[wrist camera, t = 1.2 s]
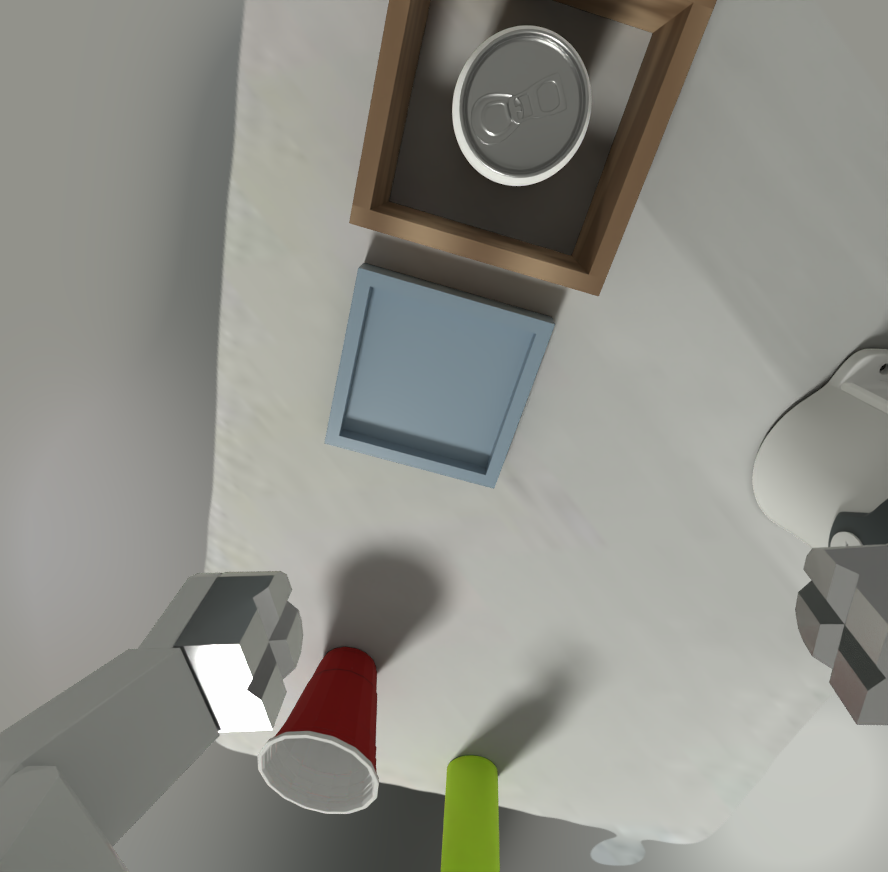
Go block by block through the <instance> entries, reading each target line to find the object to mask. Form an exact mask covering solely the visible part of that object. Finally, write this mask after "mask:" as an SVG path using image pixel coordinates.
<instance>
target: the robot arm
mask: <svg viewBox="0 0 888 872" xmlns="http://www.w3.org/2000/svg"><path fill="white" fill-rule="evenodd" d="M884 364H886V367H885V368H884V369H883V370H882V371H880V368H881V367H882V366H883V365H884ZM752 482H753V491H754V495H755V498H756V501H757V503H758V505H759V507H760V508H761V510H762V511H763V512H764V514H765V515H766V516H767V517H768V518H769V519H770V520H771V521H772V522H774V523H775V524H776V525H778V526H779V527H781V528H783V529H784V530H786V531H788V532H789V533H791V534H792V535H794V536H795V537H797V538H798V539H800V540H801V541H803V542H804V543H805V544H806V545H808V546H809V547H810V548H812V549H811V551H810V552H809V553H808V555H807V556H806V560H805V565H804V569H803V570H804V571H805V572H806V574H807V575H808V576H809V578H810V579H811V581H810V582H809V583H808V584H807V585H806V586H805V587H804V588H802V589H801V590H800V591H799V592H798V596H797V602H796V608H795V612H796V619H797V625H798V629H799V632H800V634H801V637H802V639H803V642H804V644H805V645H806V647H807V648H808V650H809V652H810V653H811V655H812V656H813V657H814V658H816V659H817V660H819V661H820V662H822V663H824V664H825V665H827V666H828V667H830V668H831V669H832V673H831V677H830V681H829V683H830V684H831V686H832V687H833V689H834V690H835V692H836V694H837V695H838V697H839V698H840V700H841V701H842V703H843V704H844V706H845V707H846V709H847V710H848V712H849V713H850V715H851V716H852V718H853V720H854V721H855V722H856V724H857V725H888V349H863V350H860V351H858V352H856V353H854V354H853V355H852V356H851V357H849V358H848V359H847V360H846V361H845V362H844V364H843V365H842V366H841V367H840V368H839V369H838V371H837V372H836V373H835V374H834V376H833V377H832V378H831V379H830V381H829V382H828V383H827V384H826V385H825V386H824V387H822V388H821V389H820V390H818V391H817V392H816V393H814V394H813V395H811V396H810V397H808V398H807V399H805V400H804V401H802V402H800V403H799V404H798V405H796V406H795V407H794V408H793V409H791V410H790V411H789V412H788V413H787V414H786V415H785V416H783V417H782V418H781V420H780V421H779V422H778V423H777V424H776V425H775V426H774V427H773V429H772V430H771V431H770V433H769V434H768V435H767V437H766V438H765V440H764V442H763V444H762V445H761V447H760V449H759V452H758V454H757V457H756V460H755V463H754V468H753V478H752ZM291 591H292V588H291V585H290V582H289V579H288V577H287V574H285V573H283V572H281V571H258V572H225V573H197V574H195V575H193V576H191V577H189V578H188V579H187V581H186V582H185V583H184V585H183V586H182V588H181V589H180V590H179V592H178V593H177V595H176V596H175V597H174V599H173V600H172V602H171V603H170V604H169V606H168V607H167V609H166V610H165V611H164V613H163V614H162V616H161V617H160V618H159V620H158V621H157V623H156V624H155V625H154V627H153V628H152V630H151V631H150V632H149V634H148V635H147V637H146V638H145V639H144V641H143V642H142V644H141V645H140V646H139V648H138V649H128V650H126V651H125V652H124V653H122V654H120V655H119V656H117V657H116V658H114V659H113V660H111V661H110V662H108V663H107V664H105V665H104V666H102V667H100V668H99V669H97V670H96V671H94V672H93V673H91V674H90V675H88V676H87V677H85V678H84V679H82V680H81V681H79V682H78V683H76V684H74V685H73V686H72V687H70V688H68V689H67V690H65V691H64V692H62V693H61V694H59V695H58V696H56V697H55V698H53V699H52V700H50V701H48V702H47V703H45V704H44V705H43V706H41V707H39V708H38V709H36V710H35V711H33V712H32V713H30V714H29V715H27V716H26V717H24V718H22V719H21V720H20V721H18V722H16V723H15V724H14V725H12V726H10V727H9V728H7V729H6V730H4V731H3V732H1V733H0V872H129V870H128V869H127V868H126V866H125V865H124V863H123V862H122V860H121V859H120V858H119V856H118V855H117V853H116V852H115V850H114V849H113V846H114V845H115V844H116V842H117V841H118V840H119V839H120V838H121V837H122V836H123V835H124V834H125V833H126V832H127V831H128V830H129V829H130V828H131V827H132V826H133V825H134V824H135V823H136V822H137V821H138V820H139V818H141V817H142V815H143V814H144V813H145V812H146V811H147V810H148V809H149V808H150V807H151V806H152V805H153V804H154V803H155V802H156V801H157V800H158V799H159V798H160V797H161V796H162V795H163V794H164V793H165V792H166V791H167V789H168V788H169V787H170V786H171V785H172V784H173V783H174V782H175V781H176V780H177V779H178V778H179V777H180V776H181V775H182V774H183V773H184V772H185V771H186V770H187V769H188V768H189V767H190V766H191V765H192V763H193V762H194V761H195V760H196V759H197V758H198V757H199V756H200V755H201V754H202V753H203V752H204V751H205V750H206V749H207V748H208V747H209V746H210V745H211V743H213V742H214V741H215V740H216V739H217V738H218V737H219V732H234V731H259V730H272V729H273V727H274V724H275V721H276V719H277V716H278V713H279V711H280V708H281V706H282V703H283V700H284V698H285V695H286V692H287V691H286V689H285V686H284V683H283V679H284V678H285V677H286V676H287V675H288V674H289V673H291V672H292V671H293V670H294V669H295V668H296V666H297V663H298V660H299V657H300V654H301V648H302V640H303V629H302V620H301V617H300V614H299V610H298V609H297V608H295V607H294V606H293V605H292V604H291V603H289V602H288V601H287V600H288V598H289V596H290V593H291Z"/></svg>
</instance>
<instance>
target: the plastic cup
mask: <svg viewBox="0 0 888 872" xmlns="http://www.w3.org/2000/svg"><path fill="white" fill-rule="evenodd" d="M376 685H377V671H376V666H375V663H374V661H373V659H372V658H371V657H370V656H369V655H368V654H367V653H365V652H363V651H361V650H359V649H357V648H350V647H340V648H335V649H333V650H331V651H329V652H328V653H327V654H326V655H325V656H324V658H323V659H322V661H321V662H320V664H319V665H318V667H317V669H316V671H315V673H314V675H313V677H312V678H311V680H310V681H309V682H308V684H307V686H306V687H305V689H304V691H303V693H302V694H301V696H300V698H299V700H298V701H297V703H296V705H295V707H294V708H293V710H292V712H291V714H290V716H289V717H288V719H287V721H286V722H285V724H284V725H283V727H282V728H281V729H280V731H279V732H278V733H277V734H276V736H275V737H273V738H271V739H269V740H268V742H267V743H266V744H265V746H264V747H263V748H262V750H261V751H260V752H259V754H258V770H259V771H260V773H261V775H262V776H263V778H264V780H265V782H266V783H267V785H268V786H270V787H271V788H272V789H273V790H274V791H276V792H277V793H278V794H279V795H280V796H282V797H283V798H285V799H286V800H289V801H291V802H293V803H295V804H297V805H299V806H301V807H303V808H306V809H310V810H314V811H318V812H322V813H326V814H349V813H352V812H355V811H358V810H362V809H365V808H367V807H368V806H369V805H370V804H371V803H372V802H373V801H374V799H376V798H377V791H378V784H379V777H378V775H377V772H376V758H375V757H376V746H375V743H376V715H377V693H376Z"/></svg>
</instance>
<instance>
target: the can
mask: <svg viewBox="0 0 888 872" xmlns="http://www.w3.org/2000/svg"><path fill="white" fill-rule="evenodd" d="M591 106H592V94H591V86H590V80H589V76H588V73H587V70H586V68H585V65H584V63H583V61H582V59H581V58H580V56H579V54H578V53H577V51H576V50H575V49H574V48H573V47H572V45H571V44H570V43H569V42H568V41H566V40H565V39H564V38H563V37H561V36H560V35H558V34H557V33H555V32H553V31H551V30H548V29H546V28H542V27H538V26H530V25H524V26H515V27H511V28H508V29H505V30H502V31H500V32H498V33H496V34H494V35H493V36H491V37H489V38H488V39H487V40H485V41H484V42H483V43H482V44H481V45H480V46H479V47H478V48H477V49H476V50H475V51H474V52H473V53H472V55H471V56H470V57H469V59H468V60H467V62H466V63H465V65H464V67H463V69H462V71H461V73H460V75H459V78H458V80H457V83H456V87H455V91H454V96H453V105H452V118H453V126H454V131H455V135H456V138H457V141H458V144H459V146H460V148H461V150H462V152H463V154H464V156H465V157H466V159H467V160H468V162H469V163H470V164H471V165H472V166H473V167H474V168H475V169H476V170H477V171H478V172H479V173H480V174H482V175H483V176H485V177H486V178H488V179H490V180H492V181H494V182H497V183H500V184H504V185H510V186H525V185H531V184H534V183H538V182H540V181H543V180H545V179H547V178H549V177H550V176H552V175H554V174H555V173H556V172H558V171H559V170H560V169H561V168H563V167H564V166H565V165H566V164H567V163H568V162H569V160H570V159H571V158H572V157H573V155H574V154H575V153H576V151H577V150H578V148H579V146H580V144H581V143H582V141H583V138H584V136H585V134H586V131H587V128H588V124H589V120H590V115H591Z"/></svg>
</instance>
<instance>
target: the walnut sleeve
mask: <svg viewBox="0 0 888 872" xmlns="http://www.w3.org/2000/svg"><path fill="white" fill-rule="evenodd" d="M430 1H431V0H389V4H388V10H387V15H386V21H385V27H384V32H383V38H382V43H381V49H380V54H379V60H378V66H377V71H376V77H375V82H374V88H373V93H372V99H371V105H370V110H369V116H368V121H367V127H366V132H365V138H364V144H363V149H362V155H361V160H360V166H359V171H358V177H357V183H356V188H355V194H354V199H353V205H352V210H351V216H350V222H349V223H350V224H354V225H357V226H361V227H364V228H367V229H371V230H374V231H378V232H381V233H384V234H388V235H391V236H395V237H398V238H402V239H405V240H408V241H412V242H415V243H419V244H422V245H425V246H429V247H432V248H436V249H439V250H442V251H446V252H449V253H453V254H456V255H459V256H463V257H466V258H470V259H473V260H477V261H480V262H483V263H487V264H490V265H494V266H497V267H500V268H504V269H507V270H511V271H514V272H517V273H521V274H524V275H528V276H531V277H534V278H538V279H541V280H545V281H548V282H551V283H555V284H558V285H562V286H565V287H569V288H572V289H575V290H579V291H582V292H586V293H589V294H592V295H596V296H599V294H600V292H601V289H602V287H603V284H604V282H605V279H606V277H607V274H608V272H609V269H610V267H611V264H612V262H613V259H614V257H615V254H616V252H617V249H618V247H619V244H620V242H621V239H622V237H623V234H624V232H625V229H626V227H627V224H628V222H629V219H630V217H631V214H632V212H633V209H634V207H635V204H636V201H637V199H638V196H639V194H640V191H641V189H642V186H643V184H644V181H645V179H646V176H647V174H648V171H649V169H650V166H651V164H652V161H653V159H654V156H655V154H656V151H657V149H658V146H659V144H660V141H661V139H662V136H663V134H664V131H665V129H666V126H667V124H668V121H669V119H670V116H671V114H672V111H673V109H674V106H675V104H676V101H677V99H678V96H679V94H680V91H681V89H682V86H683V84H684V81H685V79H686V76H687V74H688V71H689V69H690V66H691V64H692V61H693V59H694V56H695V54H696V51H697V49H698V46H699V44H700V41H701V39H702V36H703V34H704V31H705V29H706V26H707V24H708V21H709V19H710V16H711V14H712V11H713V9H714V6H715V4H716V1H717V0H553V1H556V2H560V3H563V4H566V5H569V6H572V7H575V8H578V9H581V10H584V11H587V12H590V13H593V14H596V15H599V16H602V17H605V18H609V19H612V20H615V21H618V22H621V23H624V24H627V25H630V26H633V27H636V28H639V29H642V30H645V31H648V32H651V33H653V34H652V37H651V39H650V42H649V45H648V48H647V50H646V53H645V56H644V59H643V61H642V64H641V67H640V70H639V72H638V75H637V78H636V81H635V83H634V86H633V89H632V92H631V94H630V97H629V100H628V103H627V105H626V108H625V111H624V114H623V116H622V119H621V122H620V125H619V127H618V130H617V133H616V136H615V138H614V141H613V144H612V147H611V149H610V152H609V155H608V158H607V160H606V163H605V166H604V169H603V171H602V174H601V177H600V179H599V182H598V185H597V188H596V190H595V193H594V196H593V199H592V201H591V204H590V207H589V210H588V212H587V215H586V218H585V221H584V223H583V226H582V229H581V232H580V234H579V237H578V240H577V243H576V245H575V248H574V251H573V254H572V256H571V255H567V254H564V253H561V252H557V251H554V250H550V249H547V248H544V247H540V246H537V245H534V244H530V243H527V242H524V241H520V240H517V239H513V238H510V237H507V236H503V235H500V234H497V233H493V232H490V231H487V230H483V229H480V228H476V227H473V226H470V225H466V224H463V223H460V222H456V221H453V220H450V219H446V218H443V217H439V216H436V215H433V214H429V213H426V212H423V211H419V210H416V209H413V208H409V207H406V206H402V205H399V204H396V203H392V202H389V199H390V194H391V189H392V184H393V180H394V175H395V170H396V165H397V160H398V155H399V151H400V146H401V141H402V136H403V131H404V126H405V122H406V117H407V112H408V107H409V102H410V97H411V93H412V88H413V83H414V78H415V73H416V69H417V64H418V59H419V54H420V49H421V44H422V40H423V35H424V30H425V25H426V20H427V15H428V11H429V6H430Z"/></svg>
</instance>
